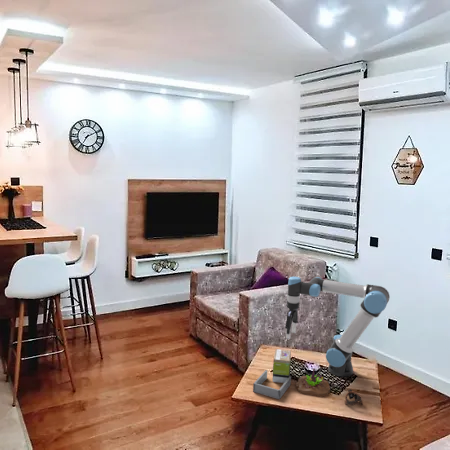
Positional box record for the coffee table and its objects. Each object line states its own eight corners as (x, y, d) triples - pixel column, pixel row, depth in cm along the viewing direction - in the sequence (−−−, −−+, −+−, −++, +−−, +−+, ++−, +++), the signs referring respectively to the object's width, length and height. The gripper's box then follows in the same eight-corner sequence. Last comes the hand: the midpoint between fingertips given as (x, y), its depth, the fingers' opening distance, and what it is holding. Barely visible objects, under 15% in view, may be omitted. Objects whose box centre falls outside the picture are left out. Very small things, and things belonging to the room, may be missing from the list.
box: (290, 384, 271) (291, 376, 271) (279, 399, 255) (280, 391, 254) (265, 377, 278) (265, 370, 278) (252, 391, 262) (253, 383, 261)
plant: (331, 383, 276) (332, 365, 275) (329, 399, 258) (330, 380, 256) (297, 377, 282) (298, 360, 280) (293, 392, 263) (294, 374, 261)
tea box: (273, 370, 288) (275, 348, 286) (289, 372, 287) (291, 350, 284) (272, 381, 274) (273, 358, 271) (288, 384, 272) (290, 360, 270)
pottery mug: (366, 408, 250) (363, 398, 246) (351, 415, 250) (347, 406, 246) (356, 392, 261) (353, 382, 257) (341, 399, 261) (338, 389, 257)
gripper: (293, 295, 297) (290, 328, 301) (281, 305, 277) (279, 340, 281) (304, 297, 294) (302, 330, 297) (293, 307, 274) (290, 343, 277)
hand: (290, 335), depth 289 cm, fingers open, 10 cm apart
